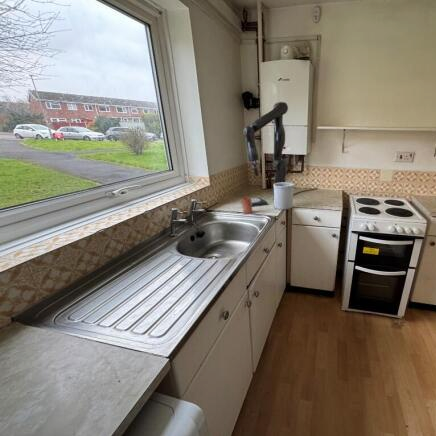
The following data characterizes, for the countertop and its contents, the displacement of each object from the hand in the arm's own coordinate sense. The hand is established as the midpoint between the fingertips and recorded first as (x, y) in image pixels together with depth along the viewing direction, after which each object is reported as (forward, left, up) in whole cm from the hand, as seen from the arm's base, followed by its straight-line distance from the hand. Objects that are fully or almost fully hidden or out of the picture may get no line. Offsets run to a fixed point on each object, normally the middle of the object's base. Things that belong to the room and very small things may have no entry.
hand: (256, 175), depth 179 cm
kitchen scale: (+4, 0, -22) cm, 22 cm away
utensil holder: (-12, +20, -22) cm, 33 cm away
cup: (+16, +18, -22) cm, 33 cm away
